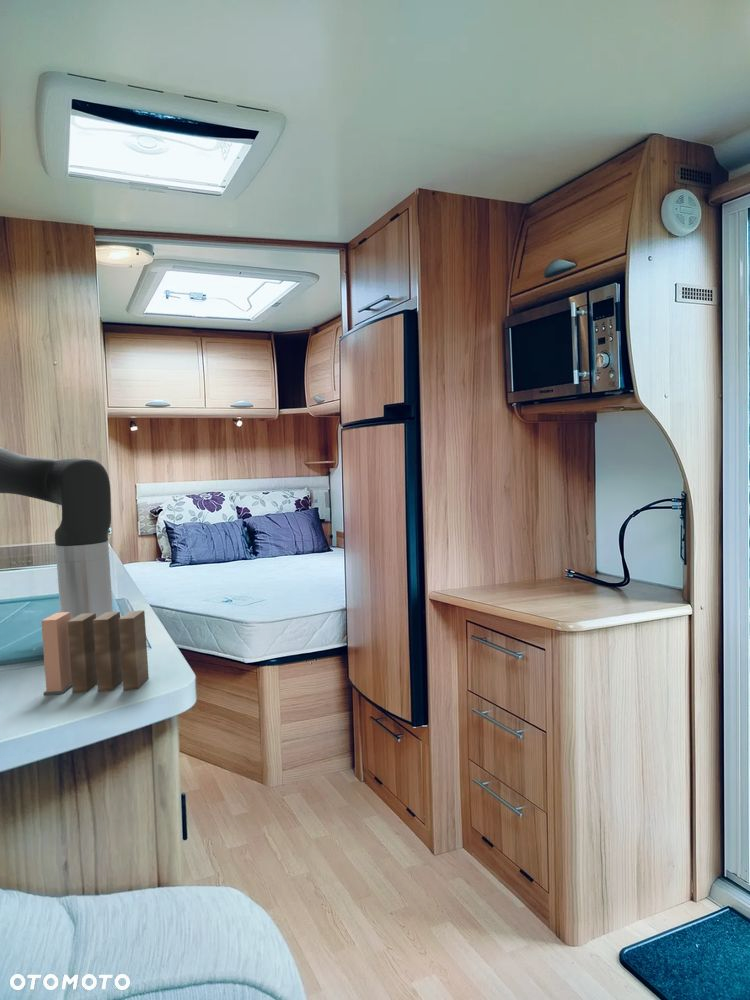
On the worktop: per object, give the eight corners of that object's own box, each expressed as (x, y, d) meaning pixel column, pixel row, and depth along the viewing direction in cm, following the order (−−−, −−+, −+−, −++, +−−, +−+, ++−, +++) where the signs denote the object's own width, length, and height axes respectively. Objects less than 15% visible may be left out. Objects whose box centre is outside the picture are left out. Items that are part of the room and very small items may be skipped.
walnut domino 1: (72, 692, 95) (67, 621, 94) (86, 681, 100) (81, 613, 99) (87, 692, 95) (82, 620, 94) (100, 680, 100) (95, 612, 99)
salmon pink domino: (46, 692, 94) (41, 620, 94) (61, 680, 99) (56, 612, 99) (61, 691, 95) (56, 619, 94) (75, 679, 100) (70, 611, 99)
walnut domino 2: (97, 691, 95) (93, 620, 94) (110, 680, 100) (106, 612, 99) (112, 690, 95) (107, 619, 94) (124, 679, 100) (119, 611, 99)
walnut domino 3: (123, 690, 95) (118, 618, 94) (134, 678, 100) (130, 611, 99) (138, 689, 95) (133, 618, 94) (148, 678, 100) (144, 610, 99)
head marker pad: (43, 694, 94) (43, 692, 94) (60, 682, 100) (60, 679, 100) (62, 693, 94) (62, 691, 94) (78, 681, 100) (78, 679, 100)
